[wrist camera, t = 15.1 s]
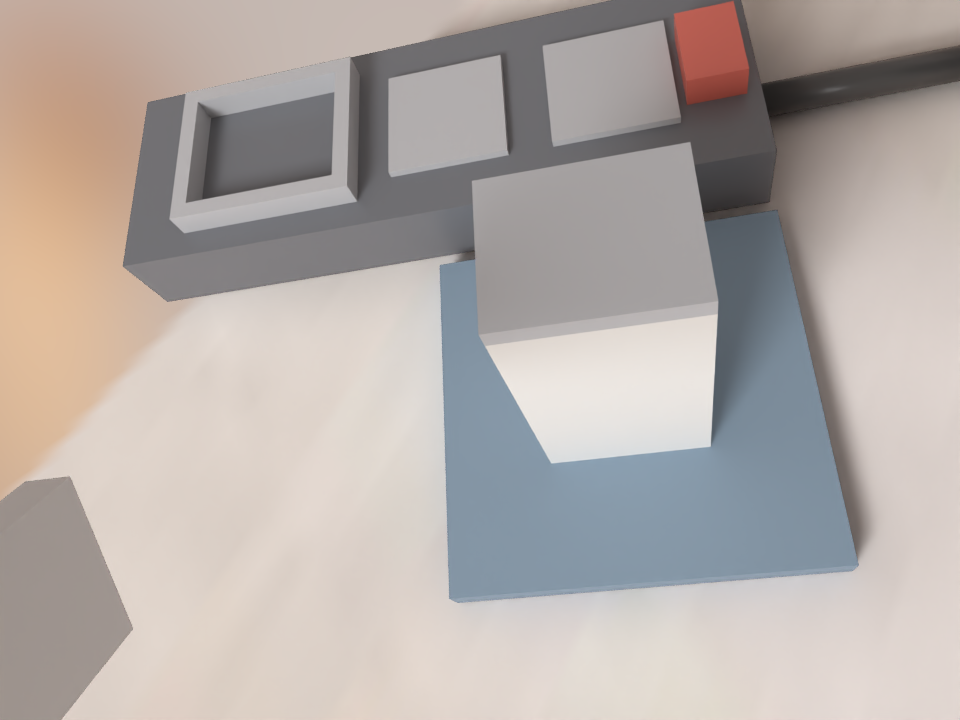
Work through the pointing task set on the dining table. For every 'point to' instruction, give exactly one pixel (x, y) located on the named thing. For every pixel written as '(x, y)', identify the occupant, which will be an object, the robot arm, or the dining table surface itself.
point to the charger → (601, 302)
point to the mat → (650, 458)
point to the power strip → (458, 137)
